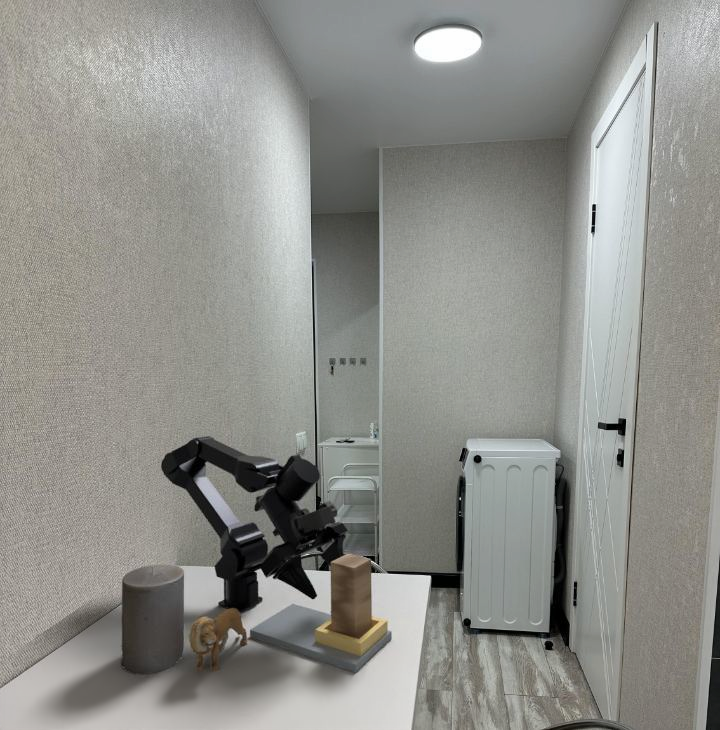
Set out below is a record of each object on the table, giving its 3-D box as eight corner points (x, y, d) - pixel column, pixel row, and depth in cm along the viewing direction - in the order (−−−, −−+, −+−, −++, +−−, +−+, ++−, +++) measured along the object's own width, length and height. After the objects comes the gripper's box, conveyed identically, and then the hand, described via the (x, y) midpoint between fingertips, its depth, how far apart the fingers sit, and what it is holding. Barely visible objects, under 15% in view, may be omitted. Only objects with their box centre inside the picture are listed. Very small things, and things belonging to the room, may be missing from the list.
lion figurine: (212, 686, 78) (212, 625, 78) (180, 682, 79) (179, 622, 79) (253, 637, 92) (252, 586, 93) (225, 634, 94) (224, 583, 94)
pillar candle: (107, 667, 83) (107, 573, 84) (152, 637, 93) (152, 552, 93) (155, 680, 80) (155, 582, 80) (197, 648, 89) (197, 560, 89)
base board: (250, 636, 93) (249, 618, 93) (292, 609, 103) (292, 593, 103) (355, 672, 81) (355, 651, 81) (391, 638, 91) (391, 619, 91)
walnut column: (331, 638, 89) (330, 562, 89) (348, 626, 93) (347, 553, 93) (355, 647, 86) (354, 568, 86) (372, 634, 90) (371, 559, 91)
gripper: (272, 500, 88) (323, 581, 81) (340, 480, 103) (387, 547, 97) (240, 538, 92) (286, 618, 86) (310, 514, 108) (353, 580, 101)
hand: (332, 588), depth 92 cm, fingers open, 9 cm apart
